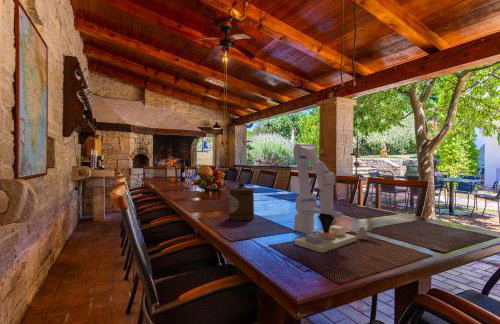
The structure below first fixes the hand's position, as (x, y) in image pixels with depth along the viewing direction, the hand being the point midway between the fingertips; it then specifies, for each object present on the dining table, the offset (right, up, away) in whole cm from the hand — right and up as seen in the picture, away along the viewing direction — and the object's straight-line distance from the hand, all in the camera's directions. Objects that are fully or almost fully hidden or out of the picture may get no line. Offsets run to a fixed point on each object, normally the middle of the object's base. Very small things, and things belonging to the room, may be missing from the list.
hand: (326, 231), depth 121 cm
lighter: (+19, -5, +6) cm, 21 cm away
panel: (0, -5, 0) cm, 5 cm away
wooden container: (-38, -4, +48) cm, 61 cm away
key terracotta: (0, -3, 0) cm, 3 cm away
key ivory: (+6, -2, +5) cm, 8 cm away
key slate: (-6, -3, -5) cm, 9 cm away
